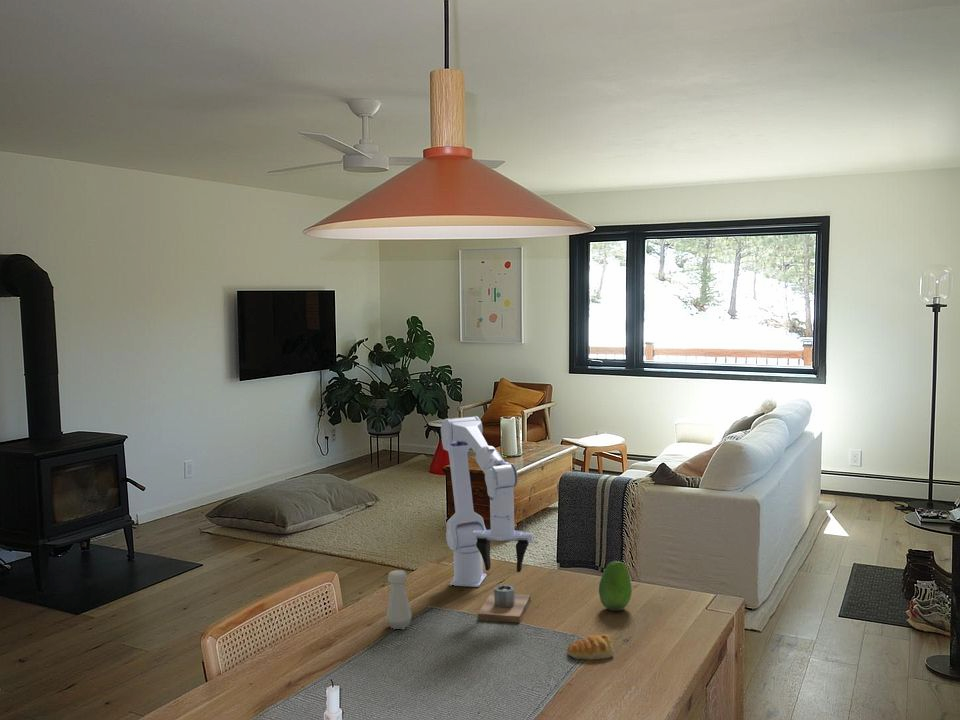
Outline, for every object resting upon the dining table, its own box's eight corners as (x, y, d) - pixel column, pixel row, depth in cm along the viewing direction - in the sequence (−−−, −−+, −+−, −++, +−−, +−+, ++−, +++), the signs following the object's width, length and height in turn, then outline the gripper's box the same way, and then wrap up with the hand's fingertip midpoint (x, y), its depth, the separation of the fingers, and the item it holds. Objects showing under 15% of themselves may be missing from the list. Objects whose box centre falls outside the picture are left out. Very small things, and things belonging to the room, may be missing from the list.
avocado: (636, 614, 193) (635, 564, 193) (604, 617, 192) (603, 566, 192) (625, 602, 201) (625, 554, 201) (594, 604, 200) (594, 556, 199)
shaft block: (491, 598, 206) (490, 579, 206) (530, 601, 204) (530, 581, 204) (477, 619, 193) (477, 599, 192) (519, 622, 190) (519, 601, 190)
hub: (497, 600, 201) (497, 584, 201) (516, 601, 200) (515, 585, 199) (493, 607, 196) (492, 590, 196) (512, 608, 195) (511, 592, 195)
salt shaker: (410, 631, 187) (408, 575, 186) (385, 631, 187) (383, 576, 186) (412, 621, 193) (411, 567, 192) (388, 621, 193) (386, 567, 192)
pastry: (574, 664, 168) (573, 646, 168) (562, 651, 175) (562, 633, 175) (616, 658, 171) (616, 640, 170) (603, 645, 177) (603, 628, 177)
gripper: (468, 517, 195) (470, 573, 196) (528, 520, 191) (530, 577, 192) (475, 510, 201) (477, 564, 202) (534, 512, 198) (535, 567, 199)
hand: (503, 570), depth 198 cm, fingers open, 7 cm apart
